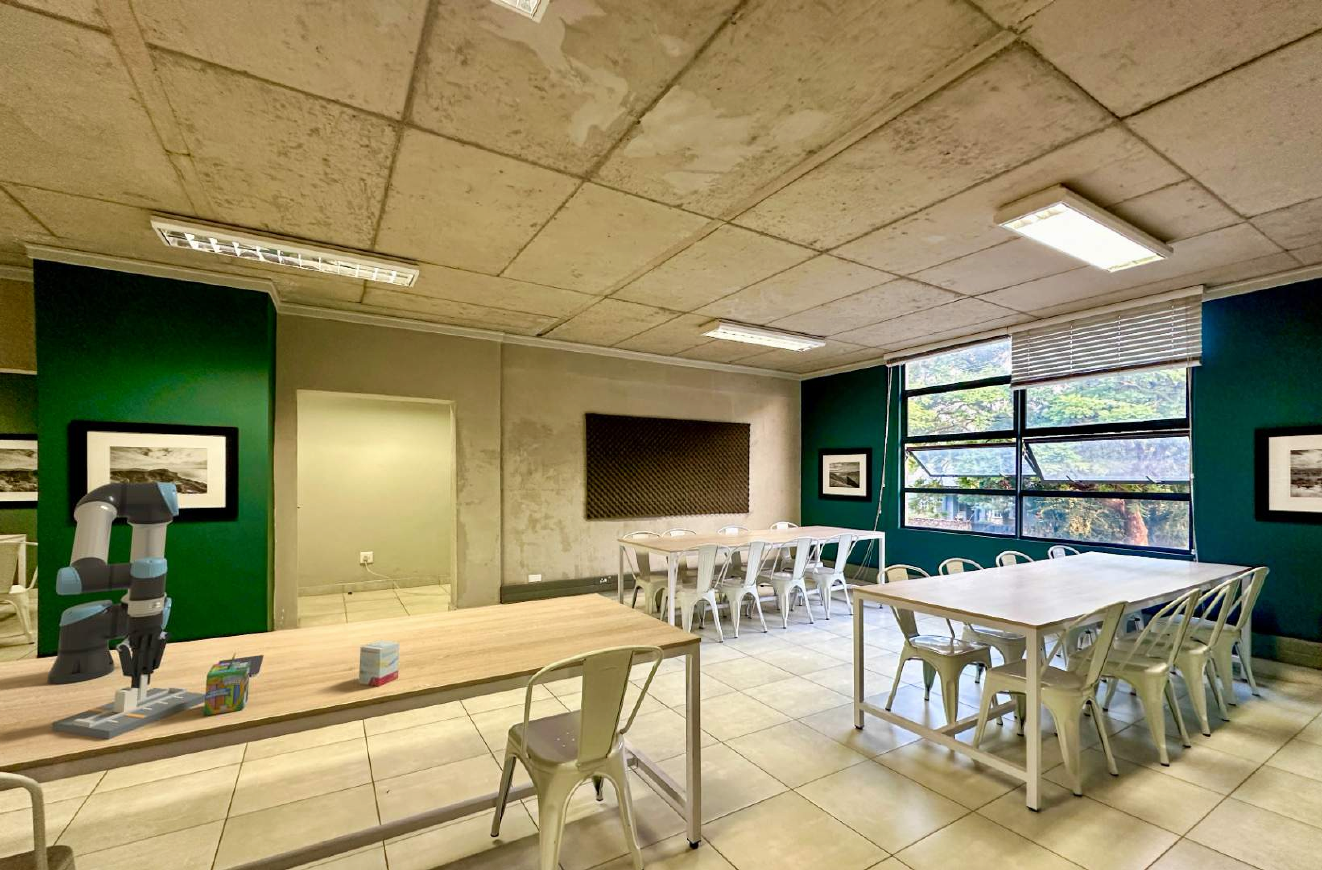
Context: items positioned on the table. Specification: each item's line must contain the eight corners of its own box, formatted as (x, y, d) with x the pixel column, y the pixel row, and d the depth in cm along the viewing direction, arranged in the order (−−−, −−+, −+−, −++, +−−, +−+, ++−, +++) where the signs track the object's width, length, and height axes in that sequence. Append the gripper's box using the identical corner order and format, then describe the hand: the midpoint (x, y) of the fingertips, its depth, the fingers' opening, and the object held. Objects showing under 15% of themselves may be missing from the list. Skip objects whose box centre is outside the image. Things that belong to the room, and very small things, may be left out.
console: (51, 730, 144) (52, 717, 144) (154, 694, 167) (155, 683, 167) (109, 739, 139) (110, 726, 139) (206, 701, 163) (206, 690, 163)
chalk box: (209, 705, 160) (213, 653, 161) (248, 699, 165) (251, 648, 166) (202, 717, 152) (205, 662, 153) (243, 710, 157) (246, 657, 158)
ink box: (399, 677, 183) (400, 641, 183) (378, 687, 175) (379, 649, 175) (379, 674, 185) (380, 638, 186) (357, 683, 177) (359, 646, 178)
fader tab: (113, 712, 150) (115, 690, 150) (126, 707, 153) (128, 686, 153) (123, 713, 149) (125, 692, 150) (136, 708, 152) (137, 687, 153)
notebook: (219, 665, 194) (209, 685, 176) (219, 660, 194) (210, 680, 176) (263, 659, 201) (258, 677, 183) (263, 654, 201) (258, 672, 183)
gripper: (129, 620, 149) (122, 709, 147) (180, 608, 162) (174, 691, 160) (108, 618, 151) (101, 707, 149) (160, 607, 163) (155, 688, 162)
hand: (139, 698), depth 154 cm, fingers closed
